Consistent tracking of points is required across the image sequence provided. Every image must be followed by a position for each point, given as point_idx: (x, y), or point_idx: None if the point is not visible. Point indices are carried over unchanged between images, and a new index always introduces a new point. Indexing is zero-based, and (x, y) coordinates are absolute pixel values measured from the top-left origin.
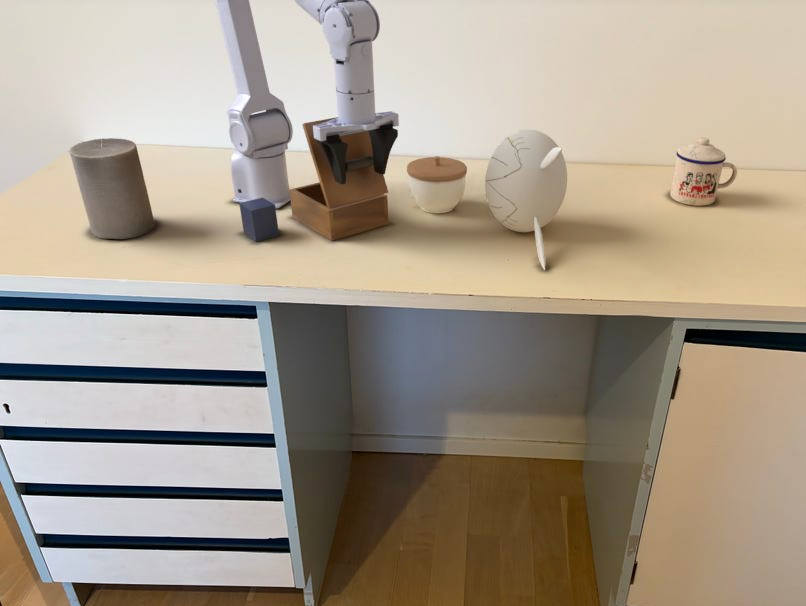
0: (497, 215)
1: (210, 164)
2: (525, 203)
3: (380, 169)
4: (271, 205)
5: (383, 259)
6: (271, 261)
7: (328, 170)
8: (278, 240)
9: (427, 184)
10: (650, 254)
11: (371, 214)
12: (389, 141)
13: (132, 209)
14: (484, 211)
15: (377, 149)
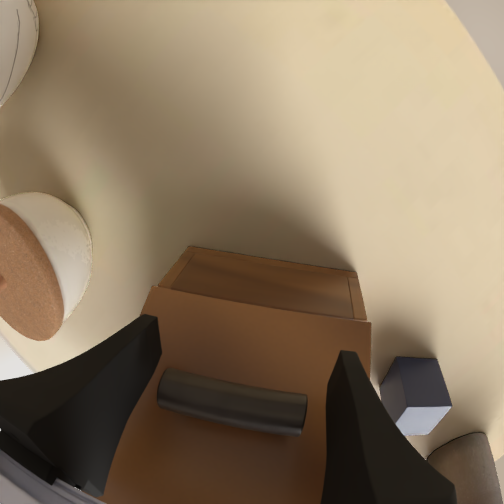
0: (29, 36)
1: None
2: None
3: (150, 335)
4: (414, 407)
5: (347, 97)
6: (489, 283)
7: None
8: (413, 342)
9: (48, 243)
10: None
11: (227, 273)
12: (46, 393)
13: (478, 460)
14: (18, 159)
15: (114, 407)
